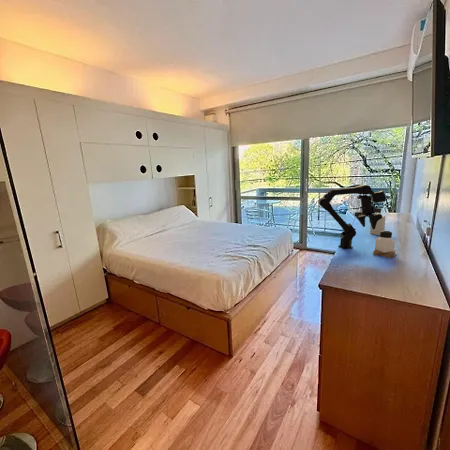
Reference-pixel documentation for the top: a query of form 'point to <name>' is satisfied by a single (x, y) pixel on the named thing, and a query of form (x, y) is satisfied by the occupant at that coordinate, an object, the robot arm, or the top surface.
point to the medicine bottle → (385, 242)
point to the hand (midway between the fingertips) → (368, 228)
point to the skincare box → (378, 226)
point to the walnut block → (387, 254)
